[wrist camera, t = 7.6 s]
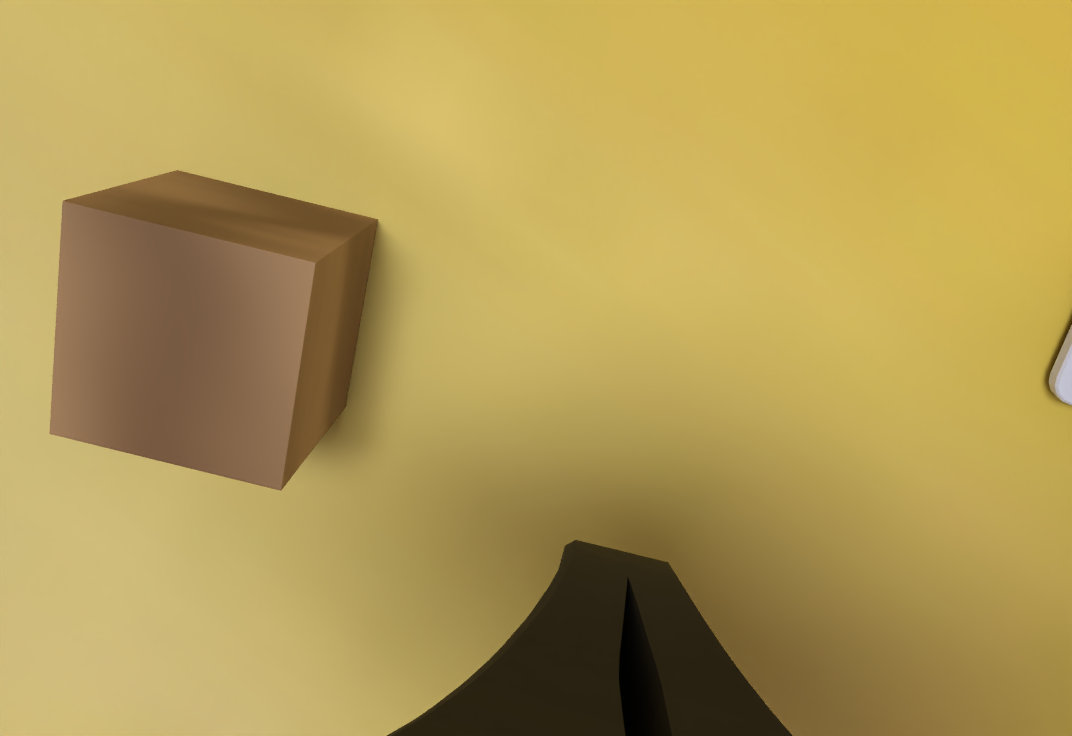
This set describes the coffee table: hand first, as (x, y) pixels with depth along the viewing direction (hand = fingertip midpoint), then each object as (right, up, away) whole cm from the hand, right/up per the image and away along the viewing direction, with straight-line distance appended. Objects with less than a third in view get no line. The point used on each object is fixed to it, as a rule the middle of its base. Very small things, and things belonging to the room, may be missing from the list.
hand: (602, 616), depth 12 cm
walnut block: (-7, +5, +9) cm, 12 cm away
